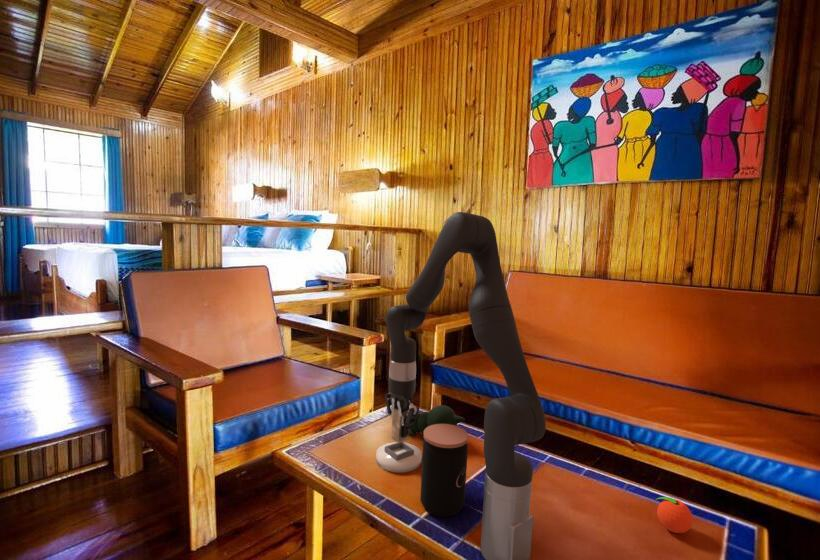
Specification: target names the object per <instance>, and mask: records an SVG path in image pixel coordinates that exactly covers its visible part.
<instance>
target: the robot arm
mask: <svg viewBox="0 0 820 560" xmlns="http://www.w3.org/2000/svg"><path fill="white" fill-rule="evenodd" d="M497 241H498V240H497V235H496V230H495V228H494V225H493V223H492V221H491V220H490V219H489V218H487V217H486V216H482V215H480V214H474V213H469V212H464V211H456V212H454V213H453V214H451V215H449V217H448V218H447V219H446V221H445V223H444V225H443V226H442V228H441V230H440V232H439V234H438V236H437V239H436V241H435V243H434V245H433V247H432V249H431V252H430V254H429V256H428V258H427V260H426V263H425V265H424V266H423V268H422V270H421V272H420V273H419V275H418V277H416V279H415V280H414V282H413V284H412V285H411V286H410V288H409V289H408V290H407V293H406V296H405V301H406V303H407V304H399V305H394V306H392V307H390V308H389V309H388V310H387V312H386V315H385V324H386V329H387V333H388V338H389V343H390V360H389V361H390V362H389V365H388V367H389V368H388V393H385V394H384V399H385V406H386V409H387V414H388V415H390V418H391V419H392V415H393V410H394V409H395V408H396V409H398V410H399V416H400V417H401V437H402V438H404V437H407V436H408V434H409V435H410V430H409V425H412V424H414V423H415V420H416V417H417V415H418V413H420V407H419V406H415V405H414V404H413V403H414V400H413V395H414V393H415V392H416V387H415V385H416V384H417V381H416V379H417V376H416V375H417V359H416V358H417V343H416V340H415V339H413V338H411V337H407V336H406V331H409V330H410V331H411V330H415V329H418V328H419V327H420V326H422V324H424V323H425V320H426V318H427V315H428V312H429V310H430V306H431V305H432V304H433V303H434V301H435V300H436V299H437V298H438V297H439V295H440V294H441V292H442V290H443V288H444V285H445V279H446V276H445V275H446V268H447V265H448V263H449V262H450V260H451V259H452V258H453V257H454V256H455V255H456V254H457V253H463V254H469V255H470V256H471V258H472V259H471V260H472V263H473V267H474V272H475V282H474V286H473V289H472V292H471V295H470V299H469V304H468V314H469V319H470V323H471V328H472V332H473V336H474V338H475V340H476V342H477V343H478V345H479V347H480V348H481V349H482V350H483V352H484V353H485V354H486V355H487V357H489V358H490V360H491V361H492V362H493V363H494V364H495V366H496V367H497V368H498V369H499V371H500V372H501V375H502V376H503V379H504V381H505V383H506V386H507V390H508V392H509V396H504V397H499V398H493V399H491V400H490V401H489V402H488V403H487V405H486V407H485V411H484V415H483V416H484V417H483V418H484V420H483V455H484V456H483V457H484V463H485V474H484V488H483V500H482V501H483V502H482V503H483V505H482V518H481V535H480V552H481V555H482V557H483V558H484V559H485V560H531V550H532V541H533V539H532V538H533V527H534V516H533V515H532V514H531V513H530V506H531V498H532V497H531V495H532V482H533V474H534V473H533V472H534V470H533V468H534V467H533V464H532V462H531V461H530V460H529V459H528V457H526V456H525V455H522V454H521V453H519V452H517V451H515V450H516V449H515V447H516V446H519V445H524V444H528V443H533V442H537V441H539V440H541V439H542V438H543V437H544V435H545V433H546V427H547V424H546V416H545V411H544V408H543V405H542V402H541V400H540V396H539V393H538V391H537V388H536V385H535V382H534V380H533V378H532V374H531V372H530V370H529V366H528V363H527V360H526V357H525V353H524V350H523V347H522V344H521V341H520V337H519V331H518V329H517V324H516V320H515V319H516V318H515V316H514V312H513V307H512V305H511V302H510V299H509V296H508V291H507V287H506V283H505V279H504V275H503V271H502V266H501V265H502V264H501V260H500V254H499V247H498V242H497ZM406 411H408V412H407V413H404V414H403V412H406ZM406 416H407V418H406V420H405V419H404V418H405V417H406Z"/></svg>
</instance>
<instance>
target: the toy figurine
mask: <svg viewBox="0 0 820 560" xmlns="http://www.w3.org/2000/svg"><path fill="white" fill-rule="evenodd" d="M417 386H418V385H417V383H416V385H415V388H416V387H417ZM465 421H466V418H465V417H462V416H460V415H458V414H456V412H455V411H454V409H453V408H451V407H450V406H448V405H444V404H440V405H436V406H434V407H432V408H431V409H430V411H424V412H422V413H420V412H418V415H417V417H416V420H415V423H414V424H412V425H409V435H410V436H411V437H414V436H416V434H419V433H420V437H421V438H422V439H424V430H425V429H426V428H427V427H428V426H430V425H434V424H451V425H455V426H457V425H458V424H460V423H462V422H465Z"/></svg>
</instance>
